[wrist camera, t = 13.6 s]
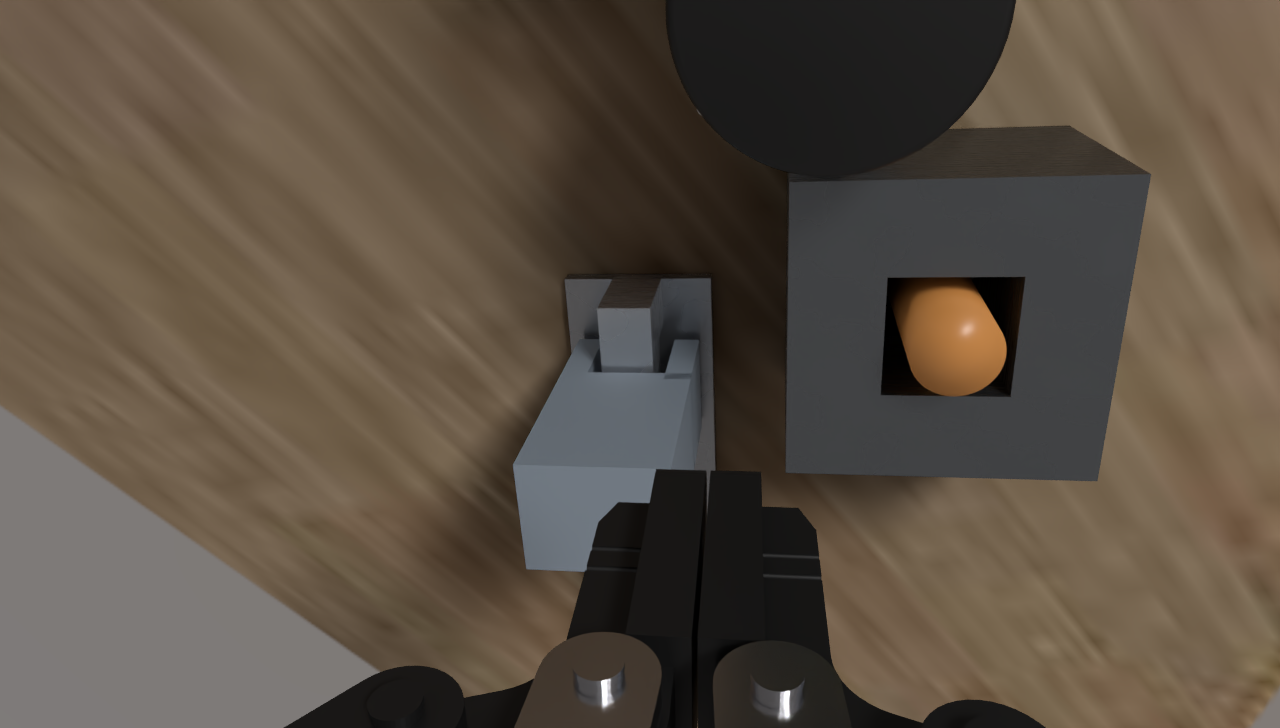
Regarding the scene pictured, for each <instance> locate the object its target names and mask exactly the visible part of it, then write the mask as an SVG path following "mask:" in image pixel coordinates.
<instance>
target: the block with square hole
mask: <svg viewBox="0 0 1280 728" xmlns="http://www.w3.org/2000/svg"><path fill="white" fill-rule="evenodd" d="M1150 177H1151V174H1150V173H1148V172H1147V171H1145V170H1143V169H1141V168H1140V167H1138V166H1136V165H1135V164H1133V163H1131V162H1130V161H1128V160H1126V159H1125V158H1123V157H1121V156H1120V155H1118V154H1116V153H1115V152H1113V151H1111V150H1109V149H1108V148H1106V147H1104V146H1103V145H1101V144H1099V143H1098V142H1096V141H1094V140H1093V139H1091V138H1089V137H1088V136H1086V135H1084V134H1083V133H1081V132H1079V131H1077V130H1076V129H1074V128H1072V127H1071V126H1040V127H1007V128H973V129H948V130H947V131H945V132H944V133H943V134H942V135H940V136H939V137H938V138H937V139H936V140H934V141H933V142H931V143H930V144H928V145H927V146H925V147H924V148H922V149H921V150H919V151H917V152H916V153H914V154H912V155H910V156H908V157H907V158H905V159H902V160H900V161H898V162H896V163H893V164H891V165H888V166H885V167H882V168H880V169H877V170H873V171H869V172H865V173H861V174H855V175H848V176H837V177H816V176H806V175H799V174H794V173H790V172H787V258H786V346H785V436H786V473H809V474H847V475H885V476H922V477H960V478H998V479H1035V480H1073V481H1097V480H1098V474H1099V468H1100V463H1101V457H1102V451H1103V446H1104V440H1105V434H1106V428H1107V423H1108V417H1109V411H1110V406H1111V400H1112V394H1113V388H1114V383H1115V377H1116V371H1117V366H1118V360H1119V354H1120V349H1121V343H1122V337H1123V331H1124V326H1125V320H1126V314H1127V309H1128V303H1129V297H1130V291H1131V286H1132V280H1133V274H1134V269H1135V263H1136V257H1137V251H1138V246H1139V240H1140V234H1141V229H1142V223H1143V217H1144V212H1145V206H1146V200H1147V194H1148V189H1149V183H1150ZM907 277H970V278H971V280H972V282H973V283H974V285H975V287H976V288H977V290H978V292H979V294H980V295H981V297H982V299H983V300H984V302H985V304H986V306H987V307H988V309H989V311H990V312H991V314H992V316H993V318H994V319H995V321H996V323H997V324H998V326H999V328H1000V330H1001V331H1002V333H1003V335H1004V338H1005V341H1006V347H1007V353H1006V359H1005V363H1004V366H1003V368H1002V370H1001V371H1000V373H999V374H998V376H997V377H996V378H995V379H994V380H993V381H992V382H991V383H990V384H989V385H987V386H986V387H984V388H983V389H981V390H979V391H977V392H975V393H972V394H968V395H964V396H944V395H940V394H936V393H934V392H932V391H930V390H928V389H926V388H925V387H924V386H922V385H921V384H920V383H919V382H918V381H917V380H916V378H915V377H914V375H913V373H912V371H911V368H910V365H909V362H908V358H907V355H906V352H905V349H904V345H903V342H902V339H901V336H900V333H899V329H898V326H897V323H896V320H895V316H894V313H893V310H892V308H886V296H887V279H888V278H907Z"/></svg>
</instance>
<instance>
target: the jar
mask: <svg viewBox="0 0 1280 728" xmlns="http://www.w3.org/2000/svg"><path fill="white" fill-rule="evenodd" d="M1015 4H1016V0H666V25H667V34H668V40H669V45H670V50H671V54H672V58H673V61H674V64H675V67H676V70H677V73H678V75H679V78H680V80H681V82H682V84H683V86H684V88H685V90H686V92H687V94H688V96H689V98H690V99H691V101H692V103H693V104H694V106H695V107H696V109H697V112H698V113H699V114H700V115H701V116H702V117H703V118H704V119H705V121H706V122H707V123H708V124H709V125H710V126H711V127H712V128H713V129H714V130H715V131H716V132H717V133H718V134H719V135H720V136H721V137H722V138H723V139H724V140H725V141H727V142H728V143H729V144H731V145H732V146H733V147H735V148H736V149H737V150H739V151H740V152H742V153H744V154H745V155H747V156H749V157H750V158H752V159H754V160H756V161H758V162H760V163H763V164H765V165H767V166H770V167H773V168H775V169H778V170H782V171H786V172H790V173H794V174H799V175H806V176H816V177H837V176H848V175H855V174H861V173H865V172H869V171H873V170H877V169H880V168H882V167H885V166H888V165H891V164H893V163H896V162H898V161H900V160H902V159H905V158H907V157H908V156H910V155H912V154H914V153H916V152H917V151H919V150H921V149H922V148H924V147H925V146H927V145H928V144H930V143H931V142H933V141H934V140H936V139H937V138H938V137H939V136H940V135H942V134H943V133H944V132H945V131H947V130H948V129H949V128H950V127H951V126H952V125H953V124H954V123H955V122H956V121H957V120H958V119H959V118H960V117H961V116H962V115H963V114H964V113H965V112H966V110H967V109H968V108H969V107H970V106H971V105H972V103H973V102H974V101H975V99H976V98H977V97H978V95H979V94H980V92H981V91H982V90H983V88H984V87H985V85H986V83H987V82H988V80H989V78H990V77H991V75H992V73H993V71H994V69H995V67H996V65H997V63H998V61H999V59H1000V57H1001V54H1002V52H1003V49H1004V46H1005V44H1006V41H1007V38H1008V35H1009V31H1010V28H1011V24H1012V20H1013V15H1014V9H1015Z"/></svg>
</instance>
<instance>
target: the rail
mask: <svg viewBox="0 0 1280 728" xmlns="http://www.w3.org/2000/svg"><path fill="white" fill-rule="evenodd" d="M565 289H566V299H567V310H568V321H569V331H570V342H571V353H572V352H573V351H574V349H575V347H576V345H577V343H578V341H579V339H599V340H600V353H601V366H602V373H665V372H666V369H667V365H668V362H669V358H670V355H671V351H672V348H673V344H674V341H675V340H699V354H700V386H701V419H702V428H701V433H700V439H699V445H698V451H697V456H696V462H695V468H694V470H706V472H707V509H708V496H709V483H710V471H711V470H714V471H716V435H715V393H714V351H713V309H712V274H591V275H567V277H566V278H565Z"/></svg>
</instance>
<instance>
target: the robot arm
mask: <svg viewBox="0 0 1280 728" xmlns="http://www.w3.org/2000/svg"><path fill="white" fill-rule="evenodd" d="M697 724H698V728H1045V727H1044V726H1043V725H1041V724H1040V723H1039V722H1037V721H1035V720H1034V719H1032V718H1031V717H1029V716H1028V715H1026V714H1024V713H1022V712H1020V711H1018V710H1016V709H1013V708H1011V707H1008V706H1005V705H1002V704H998V703H994V702H990V701H983V700H961V701H954V702H951V703H947V704H945V705H942V706H940V707H938V708H937V709H935V710H934V711H933V712H931V713H930V714H929V715H928V716H927V718H926V719H925V720H924V722H923V723H921V722H917V721H914V720H911V719H908V718H905V717H901V716H898V715H895V714H892V713H889V712H887V711H884V710H881V709H879V708H877V707H875V706H873V705H871V704H869V703H867V702H866V701H864V700H863V699H861V698H859V697H858V696H857V695H856V694H854V693H853V692H852V691H851V690H850V689H849V688H848V687H847V686H846V685H845V684H844V683H843V682H842V681H841V679H840V678H839V676H838V674H837V672H836V671H835V669H834V666H833V664H832V659H831V653H830V645H829V636H828V628H827V619H826V611H825V602H824V594H823V585H822V580H821V568H820V560H819V551H818V543H817V534H816V529H815V528H814V527H813V526H812V524H811V523H810V522H809V521H808V520H807V518H806V517H805V516H804V515H803V513H802V512H801V511H800V510H799V508H781V507H762V492H761V472H747V471H714V470H711V471H710V483H709V496H708V509H707V472H706V470H676V469H656V471H655V476H654V482H653V487H652V492H651V498H650V503H632V502H618V503H617V504H616V505H615V506H614V507H613V508H612V509H611V510H610V511H609V512H608V513H607V514H606V515H605V516H604V517H603V518H602V519H601V520H600V521H599V522H598V525H597V529H596V533H595V536H594V540H593V544H592V551H590V555H589V559H588V562H587V570H585V573H584V577H583V581H582V584H581V588H580V592H579V595H578V599H577V603H576V607H575V610H574V614H573V618H572V621H571V625H570V629H569V632H568V636H567V640H566V641H564V642H562V643H561V644H559V645H558V646H556V647H555V648H553V649H552V650H551V651H550V652H549V653H548V654H547V655H546V656H545V658H544V659H543V660H542V662H541V664H540V666H539V668H538V670H537V673H536V675H535V678H534V679H532V680H530V681H528V682H526V683H524V684H522V685H519V686H516V687H513V688H510V689H506V690H502V691H497V692H492V693H487V694H482V695H477V696H471V697H466V698H464V697H463V693H462V690H461V688H460V686H459V684H458V683H457V682H456V681H455V680H454V679H453V678H452V677H451V676H449V675H448V674H446V673H445V672H443V671H440V670H438V669H435V668H430V667H425V666H404V667H397V668H393V669H389V670H385V671H383V672H380V673H378V674H375V675H373V676H371V677H369V678H367V679H365V680H363V681H362V682H360V683H359V684H357V685H355V686H353V687H352V688H350V689H348V690H346V691H345V692H343V693H341V694H340V695H338V696H337V697H335V698H333V699H331V700H330V701H328V702H326V703H325V704H323V705H321V706H320V707H318V708H316V709H315V710H313V711H311V712H309V713H308V714H306V715H305V716H303V717H301V718H300V719H298V720H296V721H294V722H293V723H291V724H289V725H288V726H286V727H284V728H697Z"/></svg>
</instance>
